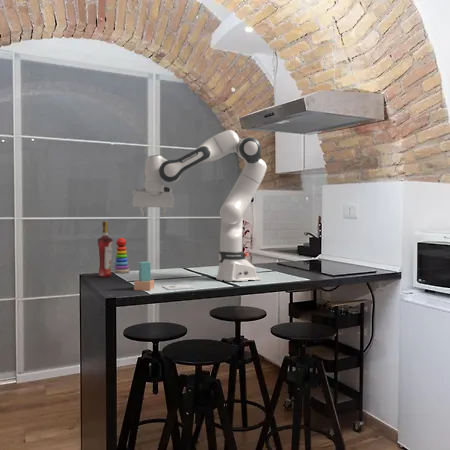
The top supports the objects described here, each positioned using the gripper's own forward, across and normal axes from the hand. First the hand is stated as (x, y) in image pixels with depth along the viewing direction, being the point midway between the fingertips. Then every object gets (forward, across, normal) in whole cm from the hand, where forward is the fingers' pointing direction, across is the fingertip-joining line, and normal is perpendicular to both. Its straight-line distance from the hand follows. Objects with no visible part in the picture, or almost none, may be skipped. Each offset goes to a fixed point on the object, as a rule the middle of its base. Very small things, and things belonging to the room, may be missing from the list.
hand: (153, 216), depth 233 cm
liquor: (+31, -22, +14) cm, 41 cm away
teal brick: (+27, -8, -25) cm, 38 cm away
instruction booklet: (+31, +7, -25) cm, 41 cm away
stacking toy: (+31, -12, +28) cm, 44 cm away
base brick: (+32, -8, -25) cm, 41 cm away
